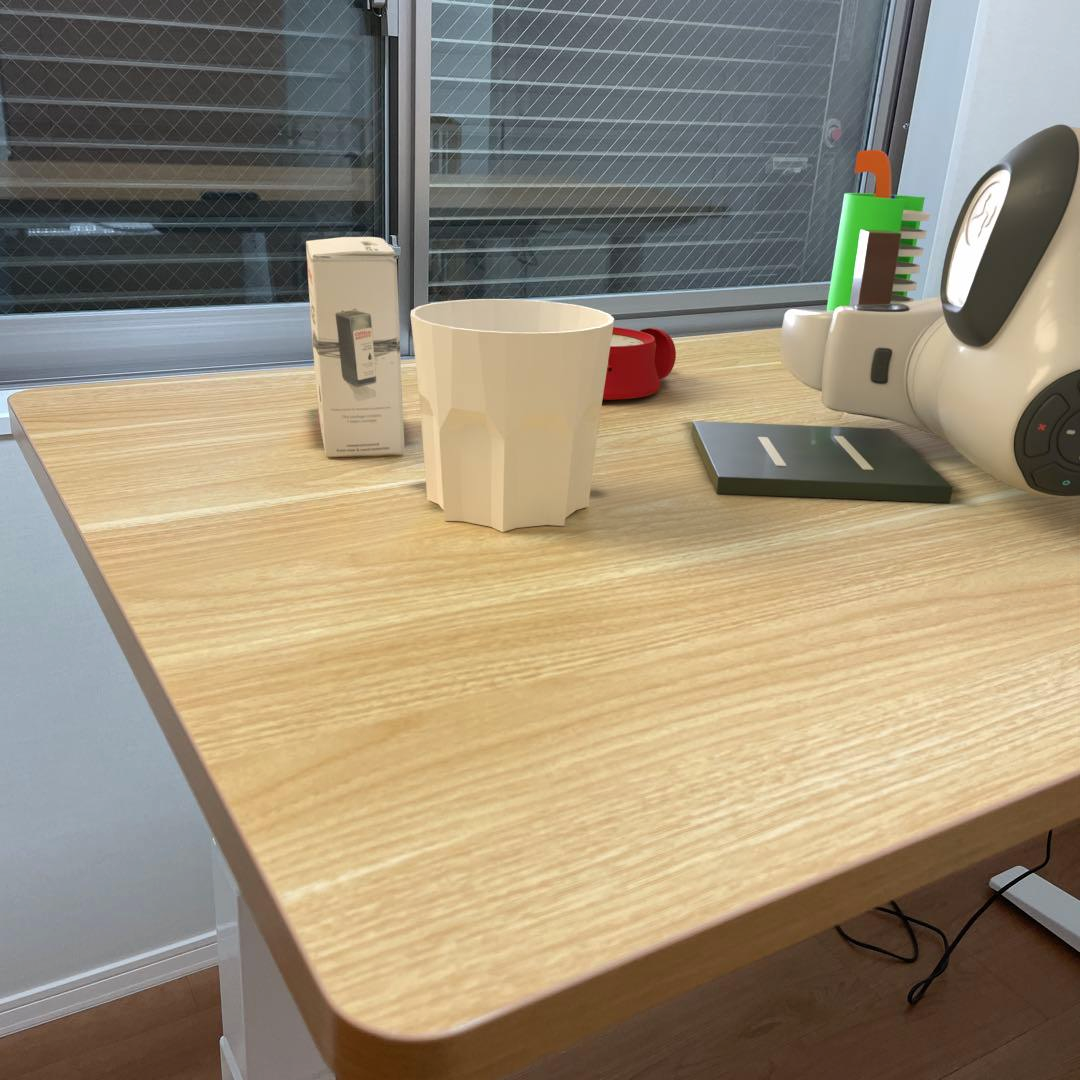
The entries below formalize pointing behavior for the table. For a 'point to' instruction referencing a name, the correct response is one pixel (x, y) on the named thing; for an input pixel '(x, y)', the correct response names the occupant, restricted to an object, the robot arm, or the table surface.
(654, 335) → the alarm clock
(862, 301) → the eraser
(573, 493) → the cup
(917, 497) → the board
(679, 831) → the table surface
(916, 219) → the green hooked bin
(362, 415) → the ink box
